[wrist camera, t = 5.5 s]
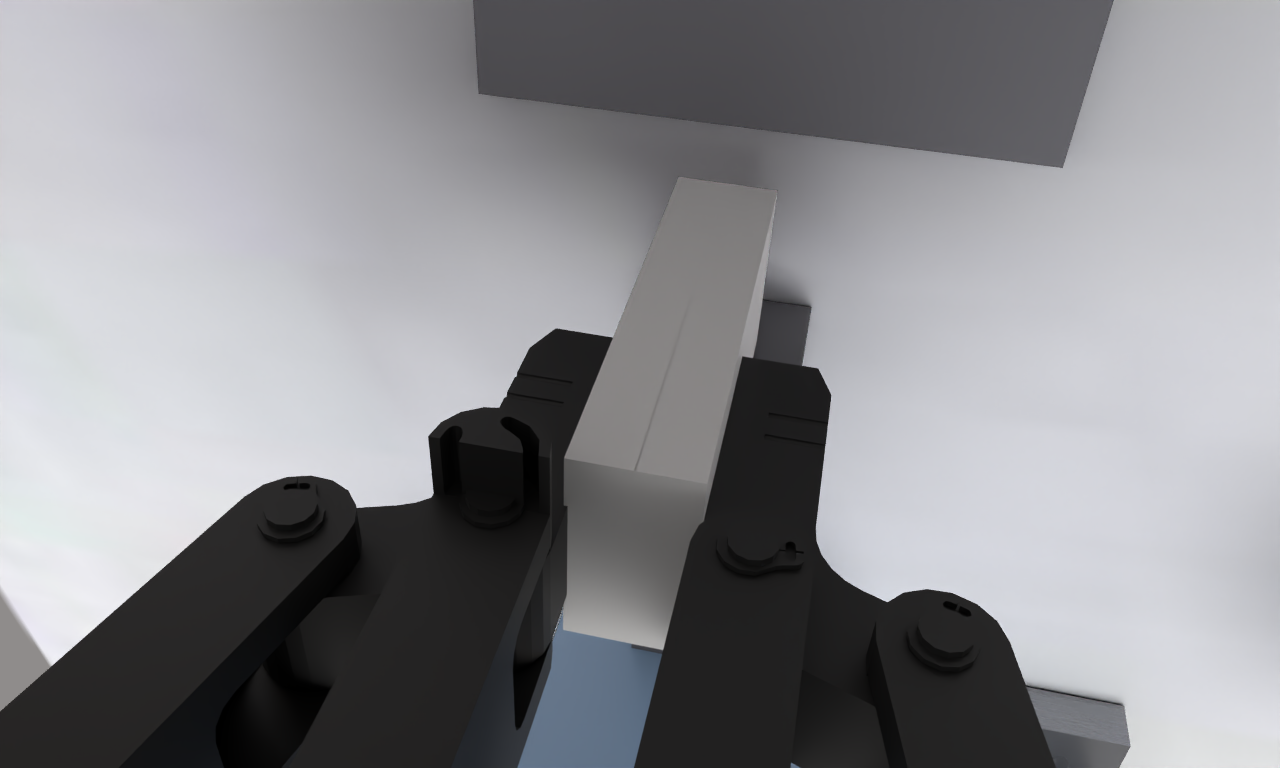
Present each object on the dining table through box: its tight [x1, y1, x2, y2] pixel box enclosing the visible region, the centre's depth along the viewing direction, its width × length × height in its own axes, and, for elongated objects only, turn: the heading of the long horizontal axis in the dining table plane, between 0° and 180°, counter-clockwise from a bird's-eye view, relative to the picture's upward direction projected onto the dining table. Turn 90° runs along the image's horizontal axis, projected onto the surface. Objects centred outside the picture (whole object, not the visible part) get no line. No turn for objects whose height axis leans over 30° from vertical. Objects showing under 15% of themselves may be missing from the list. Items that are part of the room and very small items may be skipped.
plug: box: [517, 300, 811, 768], centre depth 19 cm, size 12×6×10 cm, turn 178°
